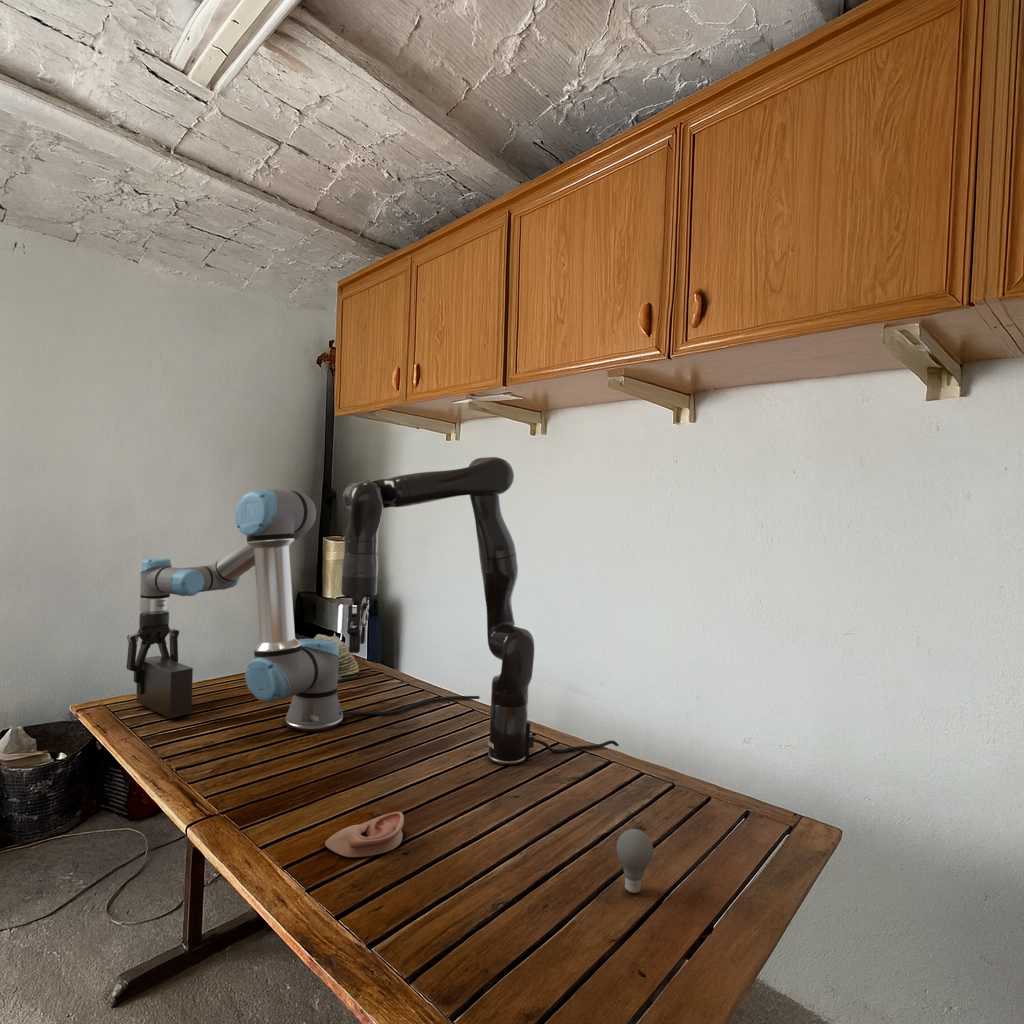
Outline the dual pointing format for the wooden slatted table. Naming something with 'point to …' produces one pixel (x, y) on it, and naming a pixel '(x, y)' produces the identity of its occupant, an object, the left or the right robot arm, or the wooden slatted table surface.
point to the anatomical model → (368, 837)
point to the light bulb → (634, 857)
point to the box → (166, 687)
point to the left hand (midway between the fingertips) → (152, 690)
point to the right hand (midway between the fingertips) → (357, 647)
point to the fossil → (343, 658)
